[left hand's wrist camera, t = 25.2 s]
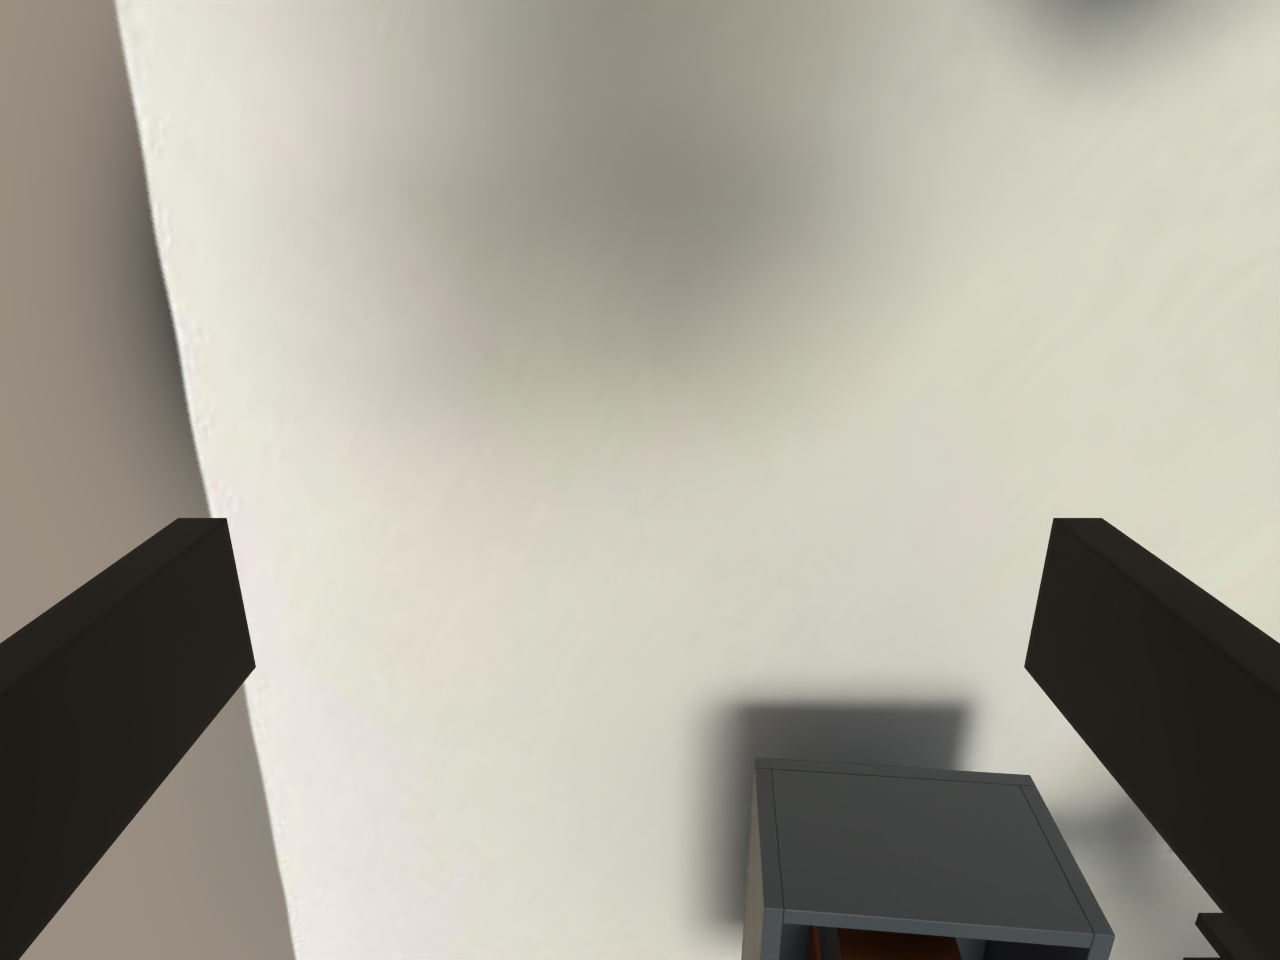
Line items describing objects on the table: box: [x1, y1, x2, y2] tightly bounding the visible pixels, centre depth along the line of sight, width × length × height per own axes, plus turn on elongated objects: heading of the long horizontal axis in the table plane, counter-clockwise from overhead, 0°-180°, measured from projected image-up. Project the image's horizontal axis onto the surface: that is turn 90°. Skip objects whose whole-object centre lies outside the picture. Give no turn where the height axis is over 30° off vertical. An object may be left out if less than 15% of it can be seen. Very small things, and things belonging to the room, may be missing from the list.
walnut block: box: [817, 926, 962, 960], centre depth 36 cm, size 5×5×10 cm
